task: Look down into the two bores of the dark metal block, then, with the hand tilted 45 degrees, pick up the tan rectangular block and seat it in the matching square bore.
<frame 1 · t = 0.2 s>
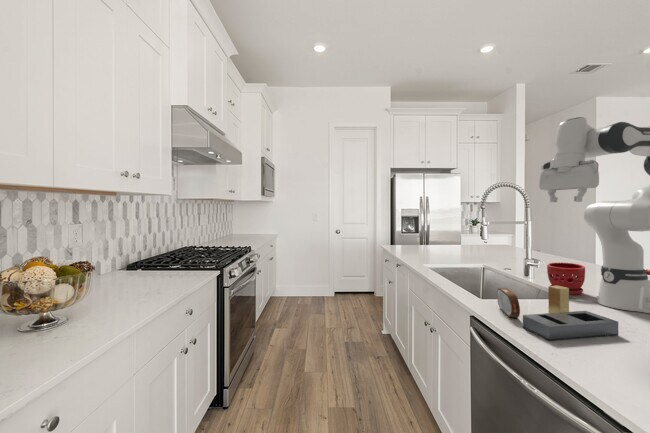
hand: (565, 201, 114), 39 cm above the worktop, tool pointing down, fingers open, 8 cm apart
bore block: (568, 331, 95), on the worktop
tin: (507, 314, 112), on the worktop
plant pot: (565, 292, 137), on the worktop
tan rectangular block: (558, 316, 108), on the worktop
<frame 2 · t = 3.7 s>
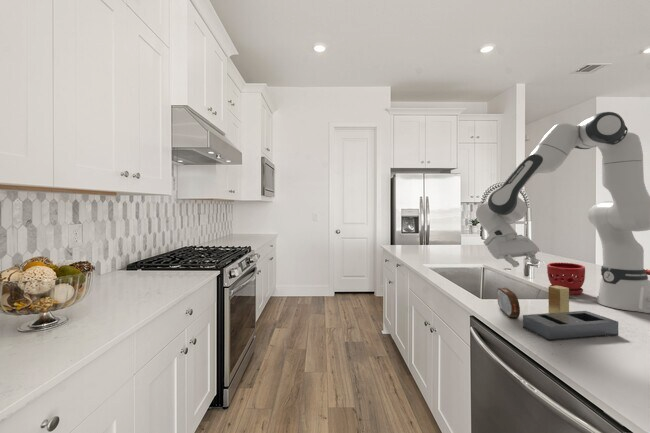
hand: (526, 265, 118), 16 cm above the worktop, tool tilted 45°, fingers open, 8 cm apart
nothing on the worktop moved.
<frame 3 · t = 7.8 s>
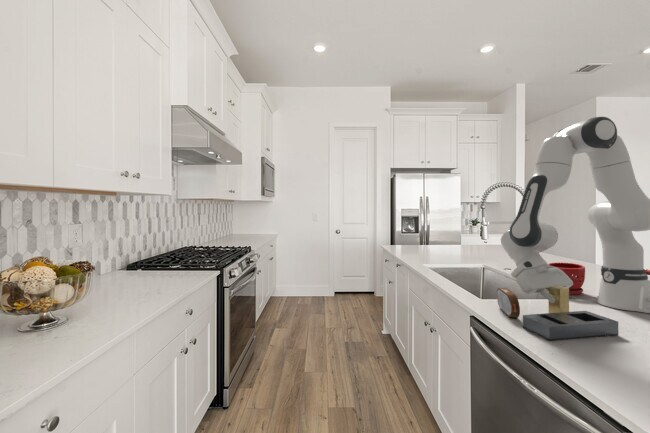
hand: (560, 301, 107), 5 cm above the worktop, tool tilted 45°, fingers closed on tan rectangular block, 4 cm apart
tan rectangular block: (558, 316, 108), on the worktop, touching gripper
everything else where it was.
when the fingers open (8 cm above the worktop, at t = 13.3 s): tan rectangular block drops 2 cm, resting on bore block.
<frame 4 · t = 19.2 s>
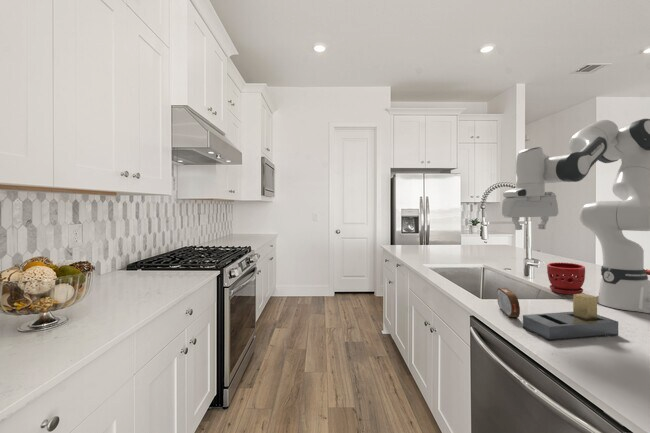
hand: (530, 229, 117), 29 cm above the worktop, tool pointing down, fingers open, 8 cm apart
tan rectangular block: (585, 328, 96), resting on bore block
everything else where it was.
at the end: tan rectangular block 0.1 cm from the target spot on the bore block, point 0.5 cm above the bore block's base; tan rectangular block tilted 0°; the gripper is holding nothing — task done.
